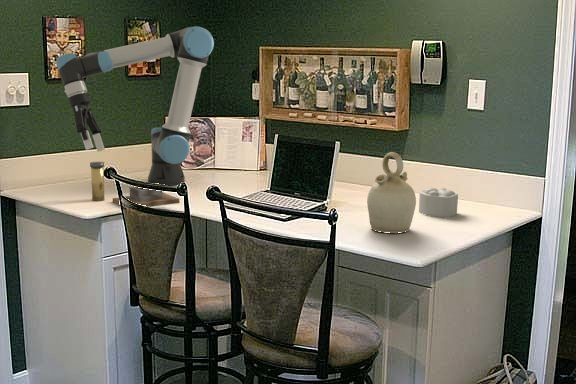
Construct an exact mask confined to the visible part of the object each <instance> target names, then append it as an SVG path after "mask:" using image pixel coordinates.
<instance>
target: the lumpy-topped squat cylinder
mask: <svg viewBox="0 0 576 384" xmlns="http://www.w3.org/2000/svg"><path fill="white" fill-rule="evenodd" d="M418 195H419V198H418V213H419V212H420V214H421V213H423V214H422V215H424V214H426V215H425V216H428V215H431V216H430V217H434V216H439V217H438V218H443V217H449V218H452V217H454V216H456V214H458V204H459V203H458V202H459V201H458V200H459V194H458V193H457V192H454V191H453V190H452V189H451V190H450V189H447V188H445V187H440V188H438V189H437V188H436V187H429V188H427V189H423V190H420V192H419V194H418ZM453 215H454V216H453Z"/></svg>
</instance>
